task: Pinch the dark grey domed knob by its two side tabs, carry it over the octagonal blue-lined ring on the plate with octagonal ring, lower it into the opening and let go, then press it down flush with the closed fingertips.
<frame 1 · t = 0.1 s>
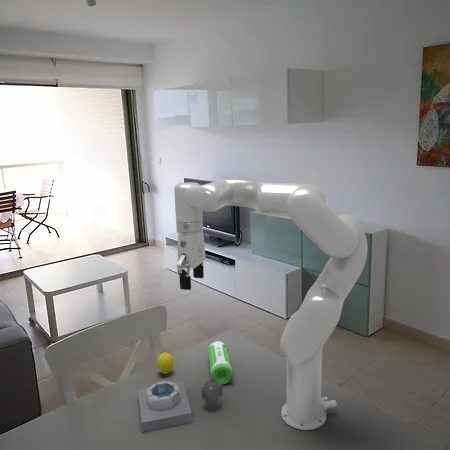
hand: (192, 283, 124), 37 cm above the table, tool pointing down, fingers open, 9 cm apart
speaker: (220, 371, 146), on the table
plate with octagonal ring: (164, 409, 126), on the table
octagonal blue-lined ring: (163, 395, 125), on the plate with octagonal ring, point 5 cm above the table
dark grey domed knob: (212, 406, 127), on the table
lemon: (166, 374, 145), on the table
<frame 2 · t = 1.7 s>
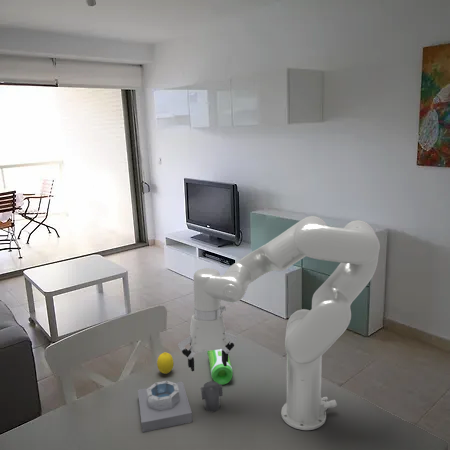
hand: (208, 366, 124), 13 cm above the table, tool pointing down, fingers open, 9 cm apart
nothing on the table moved.
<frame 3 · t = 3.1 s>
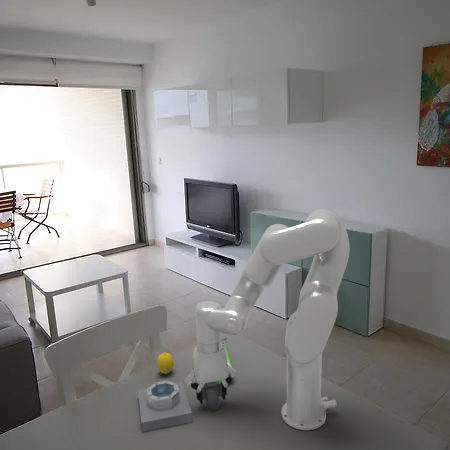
hand: (211, 398, 126), 3 cm above the table, tool pointing down, fingers closed on dark grey domed knob, 6 cm apart
dark grey domed knob: (212, 406, 127), on the table, touching gripper
everything else where it was.
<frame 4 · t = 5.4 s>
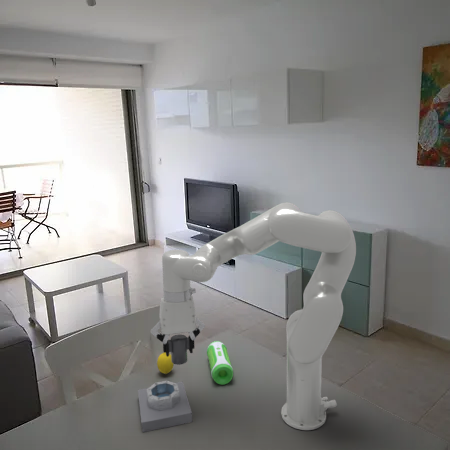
hand: (178, 352, 123), 18 cm above the table, tool pointing down, fingers closed on dark grey domed knob, 6 cm apart
dark grey domed knob: (179, 360, 123), point 16 cm above the table, touching gripper
everything else where it was.
when the fingers open (8 cm above the table, at t = 7.8 s): dark grey domed knob drops 2 cm, resting on plate with octagonal ring.
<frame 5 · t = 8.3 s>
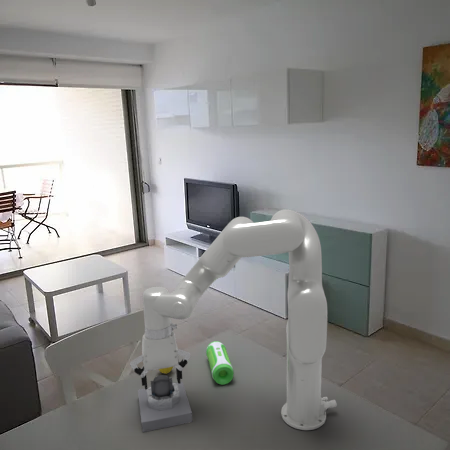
hand: (162, 384, 125), 9 cm above the table, tool pointing down, fingers open, 9 cm apart
dark grey domed knob: (163, 400, 125), point 3 cm above the table, touching plate with octagonal ring
everything else where it was.
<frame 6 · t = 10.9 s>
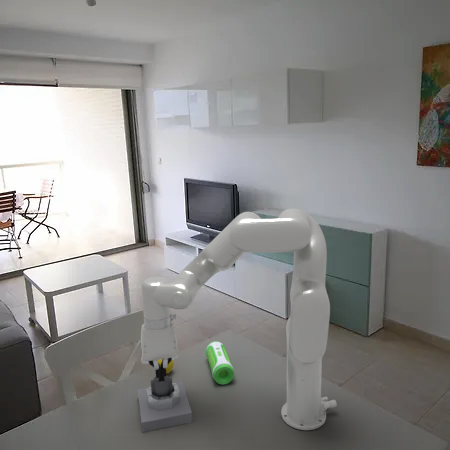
hand: (161, 378, 124), 10 cm above the table, tool pointing down, fingers closed
dark grey domed knob: (163, 400, 125), point 3 cm above the table, touching plate with octagonal ring, gripper
everything else where it was.
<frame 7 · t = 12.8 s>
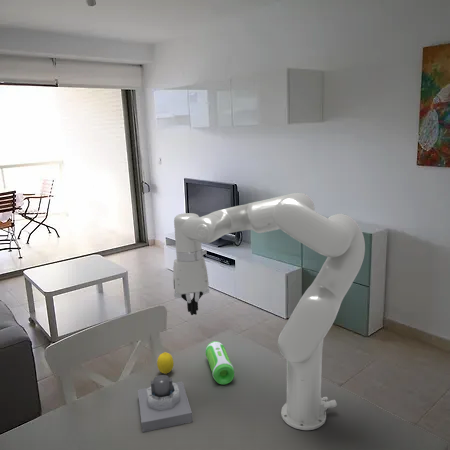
hand: (193, 313, 129), 27 cm above the table, tool pointing down, fingers closed
dark grey domed knob: (163, 400, 125), point 3 cm above the table, touching plate with octagonal ring
everything else where it was.
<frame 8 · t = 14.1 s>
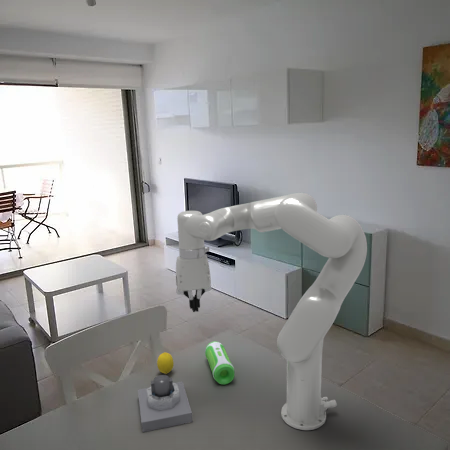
hand: (194, 310, 130), 27 cm above the table, tool pointing down, fingers closed
nothing on the table moved.
at the end: dark grey domed knob 0.3 cm off-centre on the octagonal blue-lined ring, point 3.2 cm above the octagonal blue-lined ring's base; dark grey domed knob tilted 0°; the gripper is holding nothing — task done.
